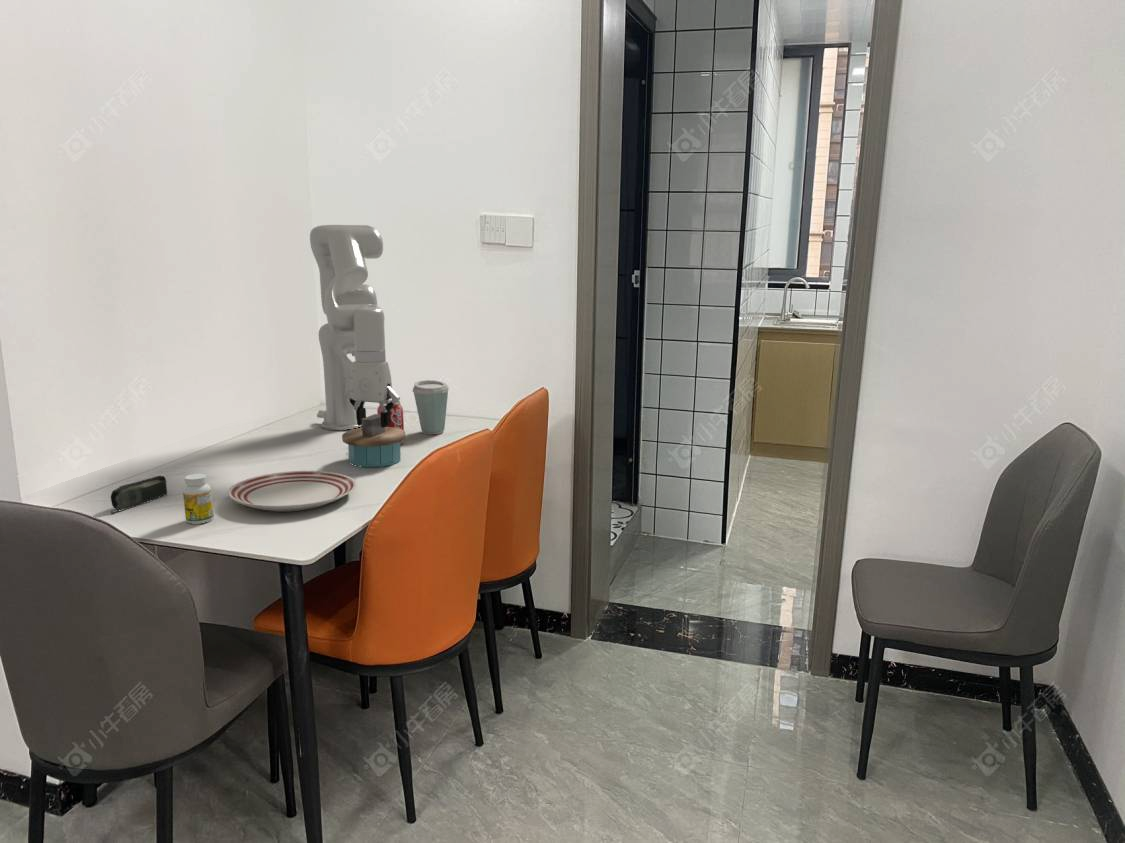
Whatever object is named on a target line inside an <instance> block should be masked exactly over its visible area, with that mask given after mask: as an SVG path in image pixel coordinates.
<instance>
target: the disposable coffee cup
mask: <svg viewBox="0 0 1125 843" xmlns="http://www.w3.org/2000/svg"><path fill="white" fill-rule="evenodd" d="M449 390H450V388H449V385H447V383H446V382H444V381H441V380H435V379H424V380H418V381H415V382H414V386H413V388H412V393H413V396H414V400H415V405H416V409H417V410H416V411H417V416H418V421H419V425H420V430H421V431H422V432H421V433H423V434H424V433H425V434H424V435H427V434H436V435H441V434H443V433H444V431H445V426H446V419H447V418H446V417H447V406H448V399H449V398H448V396H449Z"/></svg>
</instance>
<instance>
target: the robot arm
mask: <svg viewBox="0 0 1125 843" xmlns="http://www.w3.org/2000/svg"><path fill="white" fill-rule="evenodd" d="M383 242H384V241H383V237H382V235H381V233H380V231H379V230H378V229H377V228H375V227H373V226H371V225H364V224H322V225H318V226H314V227H313V228H312V229H311V230H310V233H309V243H310V249H311V252H312V253H313V256H314V257H313V258H314V259H315V261H316V264H317V268H318V271H319V272H318V273H319V281H320V282H319V284H320V285H319V286H320V298H321V307H322V312H323V314H324V315H325V316H326V319H327V323H325V324H323V325H322V326H320V328H319V330H318V341H319V342H318V343H319V346H320V350H321V356H322V363H323V378H324V379H323V380H324V392H325V393H324V395H325V410H323V409H322V410H320V409H319V410H318V412H317V413H316V417H317V419H318V418H321V419H322V418H323V421H322V422H321V428H323V429H324V428H325V430H328V429H329V430H330V431H348V430H347V429H350V430H353V429H354V428H356V429H358V427H360V428H362V427H361V426H362V419H363V418H366V417H367V410H366V407H364V406H365V403H366V402H367V403H377V404H379V405H380V407H381V409H382V411H383V412H381V427H382V428H385V427H387V426H389V425H390V411H391V410H392V408H393V407H394V406H395V405H396V403H397V402H398V401H400V400H401V397H400V396H399V395H398V393H396V391H395V390H394V389H393V383H392V376H391V375H392V374H391V370H390V365H389V362H388V361H387V360H386V336H385V335H386V334H385V313H384V310H383V309H382V308H381V307H380V306H379V305H378V299H377V294H376V291H375V289H374V287H373V286H371V285H369V284H365V283H366V281H367V280H368V277H369V272H368V268H367V264H366V259H375V260H376V259H378V258H379V259H380V257H381V256H382V255H383V251H384V243H383ZM349 354H350V355H351V356H352V357H354V360H355V361H352V360H351V359H350V358H349V357H348V355H349ZM389 400H391V402H389Z"/></svg>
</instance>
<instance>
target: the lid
mask: <svg viewBox="0 0 1125 843" xmlns="http://www.w3.org/2000/svg"><path fill="white" fill-rule="evenodd" d="M341 438H342V439H341V440H342V442H343V443H345V444H346V445H348V444H349V445H354V446H383V445H390V444H394V443H398V442H401V441H403V440H404V441H405V439H406V431H405V429H404V430H402V429H399V428H394V427H385V428H382V427H381V415H378V414H377V413H374V414H372V415H368V416H366V418H363V419H362V427H360V428H356V429H350V430H346V431H345V432H343V433H342V435H341ZM404 441H403V442H404Z"/></svg>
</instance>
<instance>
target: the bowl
mask: <svg viewBox="0 0 1125 843" xmlns="http://www.w3.org/2000/svg"><path fill="white" fill-rule="evenodd" d="M347 446H348V460H349V464H350V463H351V464H353V465H356V466H355V467H357V466H361V467H360V468H364V467H377V468H384V467H383V466H386V467H389V466H394V465H396V464H399V463H400V462H401V460H402V459H401V457H402V456H401V455H402V454H401V444H400V442H398V443H394V444H390V445H383V446H354V445H349V444H347ZM399 461H400V462H399ZM351 464H350V465H351ZM393 464H394V465H393ZM353 465H352V466H353Z"/></svg>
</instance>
